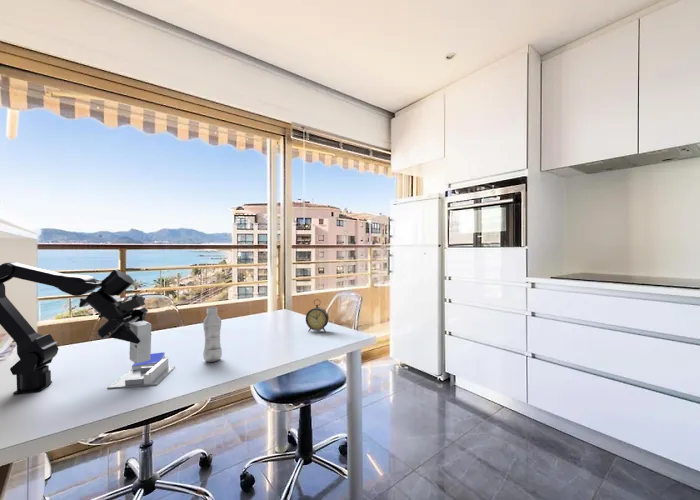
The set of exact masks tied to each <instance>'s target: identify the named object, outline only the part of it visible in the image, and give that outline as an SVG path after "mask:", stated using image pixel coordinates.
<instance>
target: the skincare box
mask: <svg viewBox="0 0 700 500" xmlns="http://www.w3.org/2000/svg"><path fill="white" fill-rule="evenodd" d="M129 327H130V328H129V329H130V330H131V331H132V332H133V333H134V334H135V335H136V336H137V337H138V339H139V340H140V342H139V343H138V344H136V343H132V342H129V360H130V361H131V362H133V364H134V363H141V362H145V361H148V360H150V357H151V354H152V335H151V334H152V323H150V322H148V321H146V320H145V321H139V322H134V323H130V325H129Z"/></svg>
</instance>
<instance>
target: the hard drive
mask: <svg viewBox="0 0 700 500" xmlns="http://www.w3.org/2000/svg"><path fill="white" fill-rule="evenodd" d="M165 355H166V354H165V352H163V351H162V352H156V353H154V352H153V353H151V357H150V360H148V361H145V362H141V363H134V362H133V364H132V366H131V369H132V370H138V369H140V368H141V367H148V366H155V365H156V364H157V363H158V362H159V361H161V360H162V359H165Z"/></svg>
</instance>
